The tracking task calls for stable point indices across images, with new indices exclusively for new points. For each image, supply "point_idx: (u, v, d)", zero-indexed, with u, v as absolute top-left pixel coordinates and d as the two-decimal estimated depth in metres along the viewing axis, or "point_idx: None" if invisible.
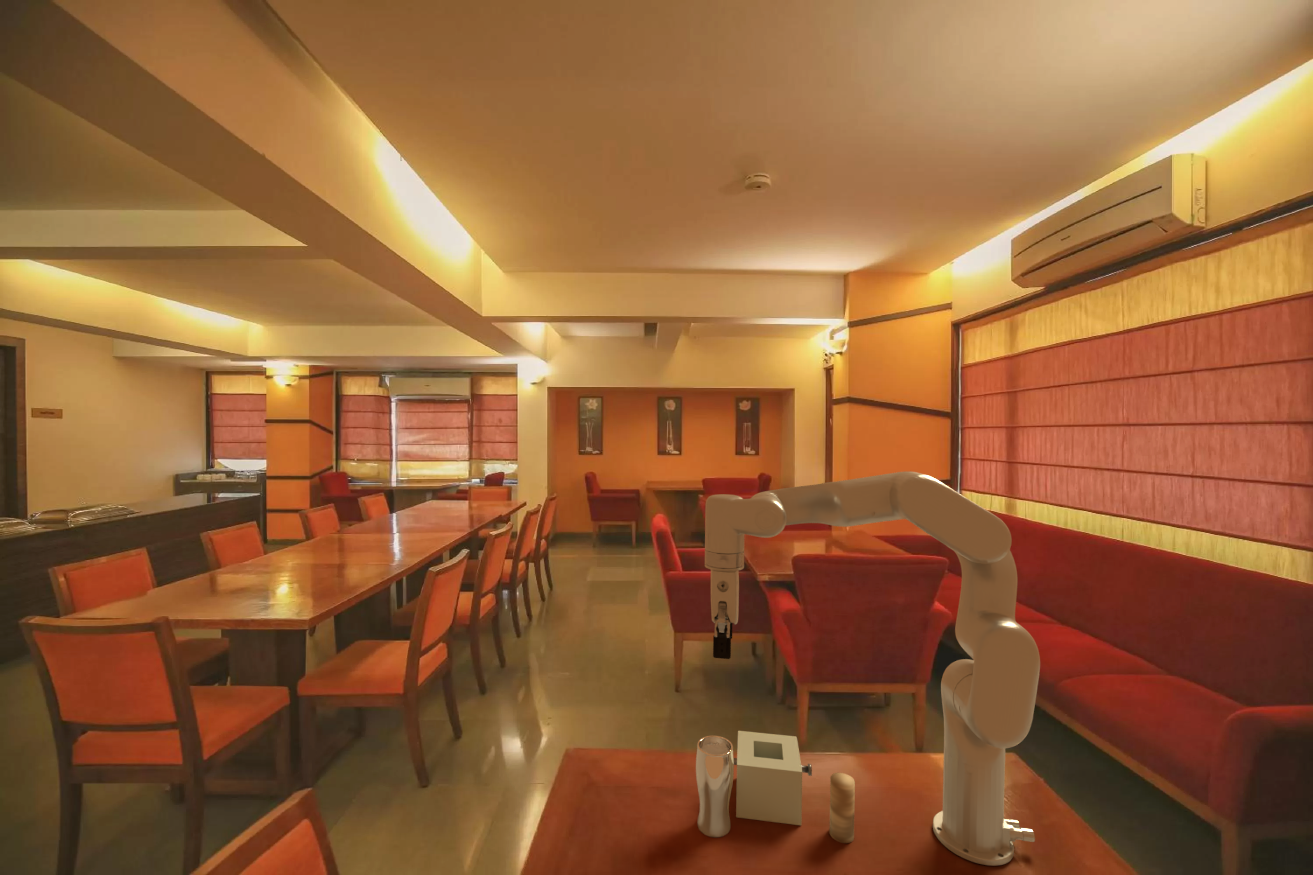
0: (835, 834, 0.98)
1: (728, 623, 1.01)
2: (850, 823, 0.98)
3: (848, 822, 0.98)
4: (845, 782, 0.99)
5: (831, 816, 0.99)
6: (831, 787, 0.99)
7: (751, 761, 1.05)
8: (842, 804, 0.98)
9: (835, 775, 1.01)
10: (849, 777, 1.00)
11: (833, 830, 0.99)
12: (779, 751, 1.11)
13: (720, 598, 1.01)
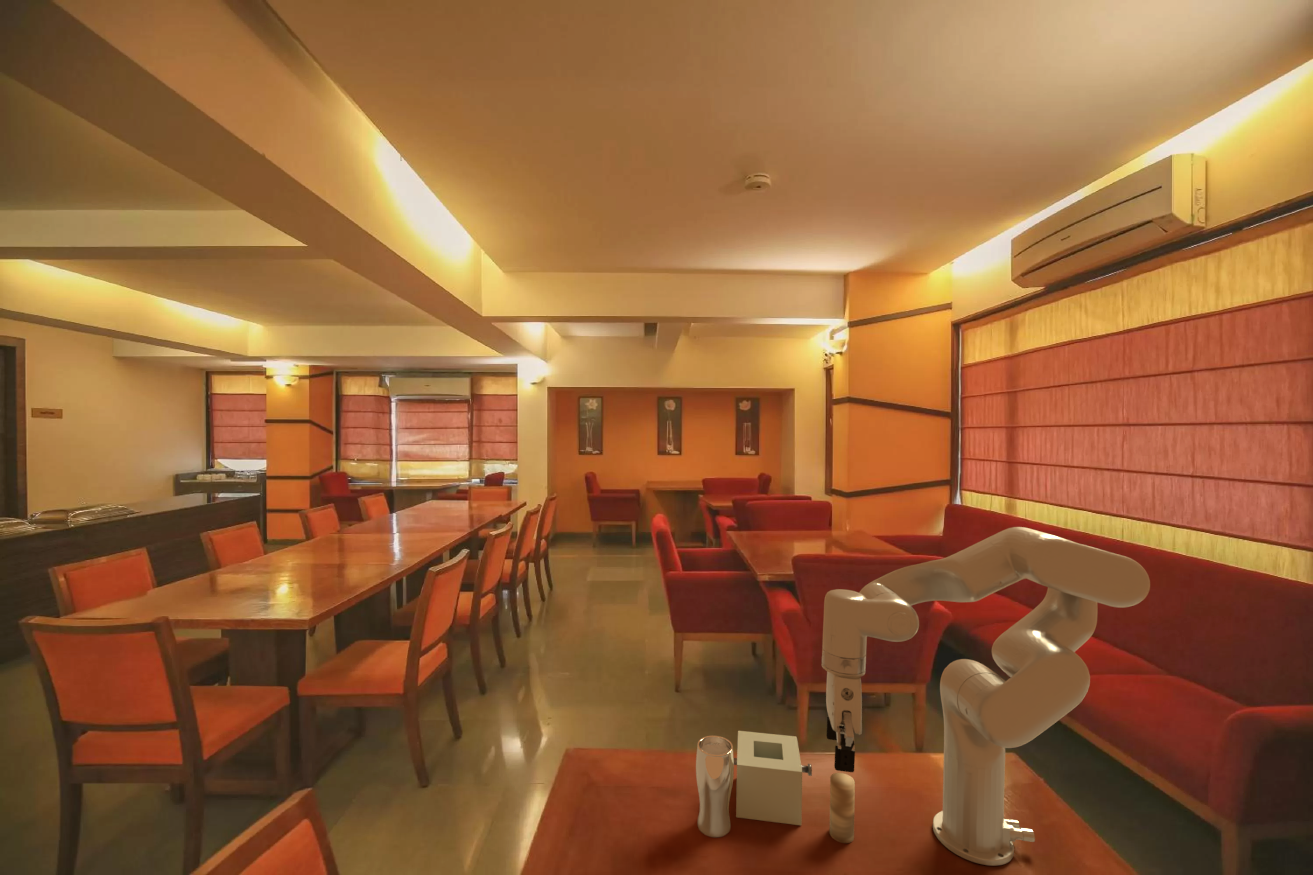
0: (835, 834, 0.98)
1: None
2: (850, 823, 0.98)
3: (848, 822, 0.98)
4: (845, 782, 0.99)
5: (831, 816, 0.99)
6: (831, 787, 0.99)
7: (751, 761, 1.05)
8: (842, 804, 0.98)
9: (835, 775, 1.01)
10: (849, 777, 1.00)
11: (833, 830, 0.99)
12: (779, 751, 1.11)
13: (844, 706, 0.95)
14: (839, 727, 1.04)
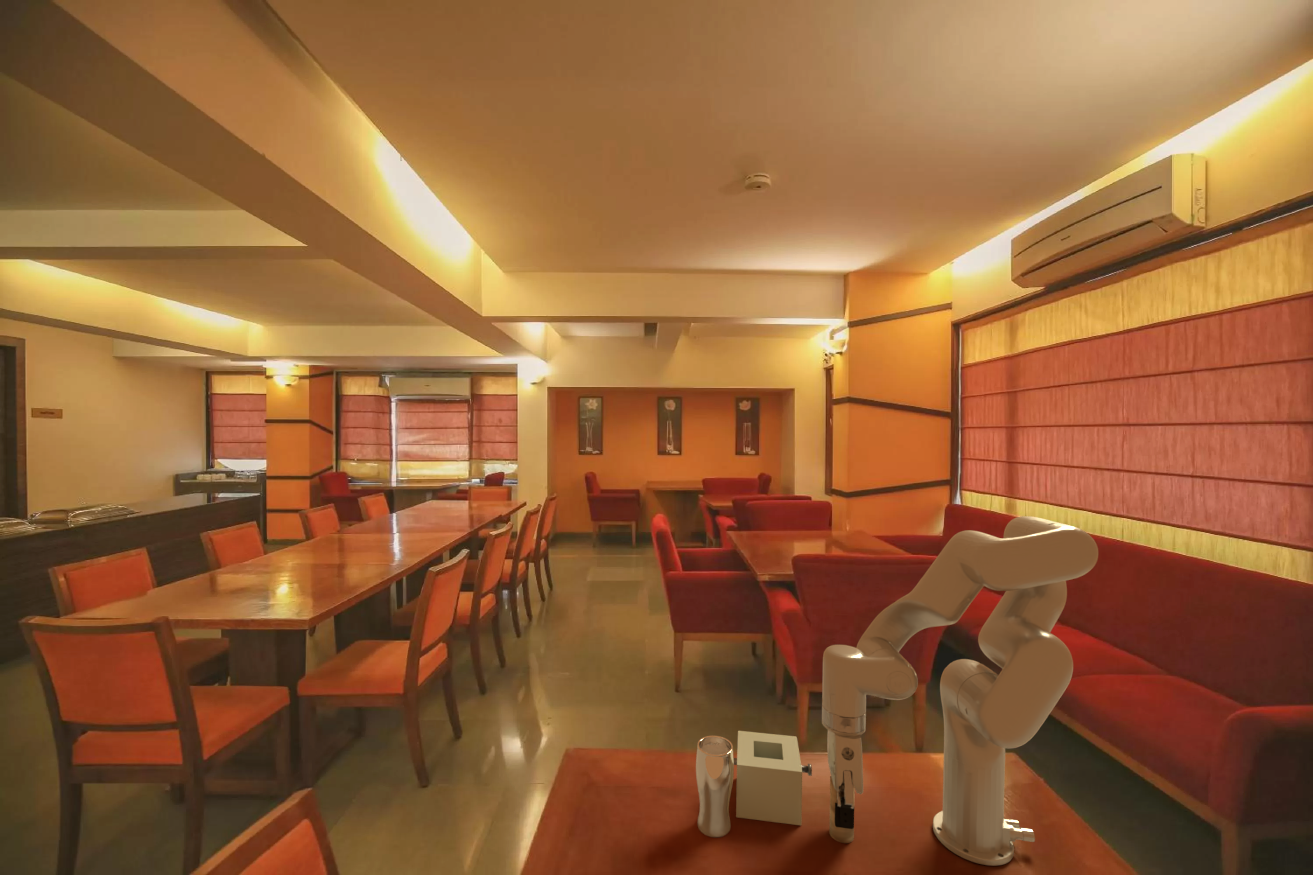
0: (835, 834, 0.98)
1: (852, 794, 0.96)
2: None
3: None
4: None
5: (831, 816, 0.99)
6: (831, 787, 0.99)
7: (751, 761, 1.05)
8: None
9: None
10: None
11: (833, 830, 0.99)
12: (779, 751, 1.11)
13: (845, 766, 0.95)
14: None
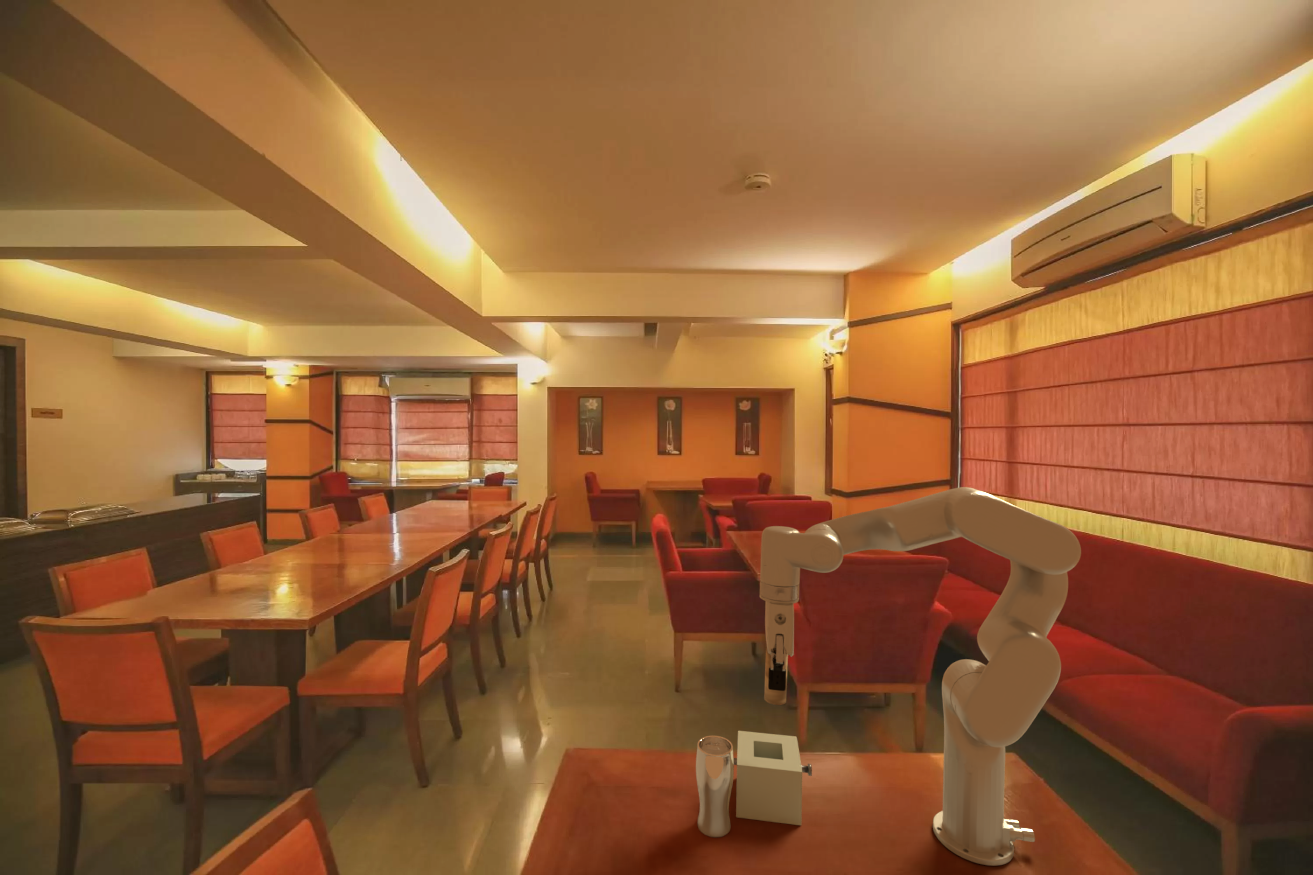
0: (768, 697, 1.06)
1: (784, 657, 1.04)
2: None
3: None
4: None
5: (765, 682, 1.07)
6: (766, 655, 1.07)
7: (751, 761, 1.05)
8: None
9: None
10: None
11: (767, 694, 1.06)
12: (779, 751, 1.11)
13: (777, 630, 1.02)
14: None
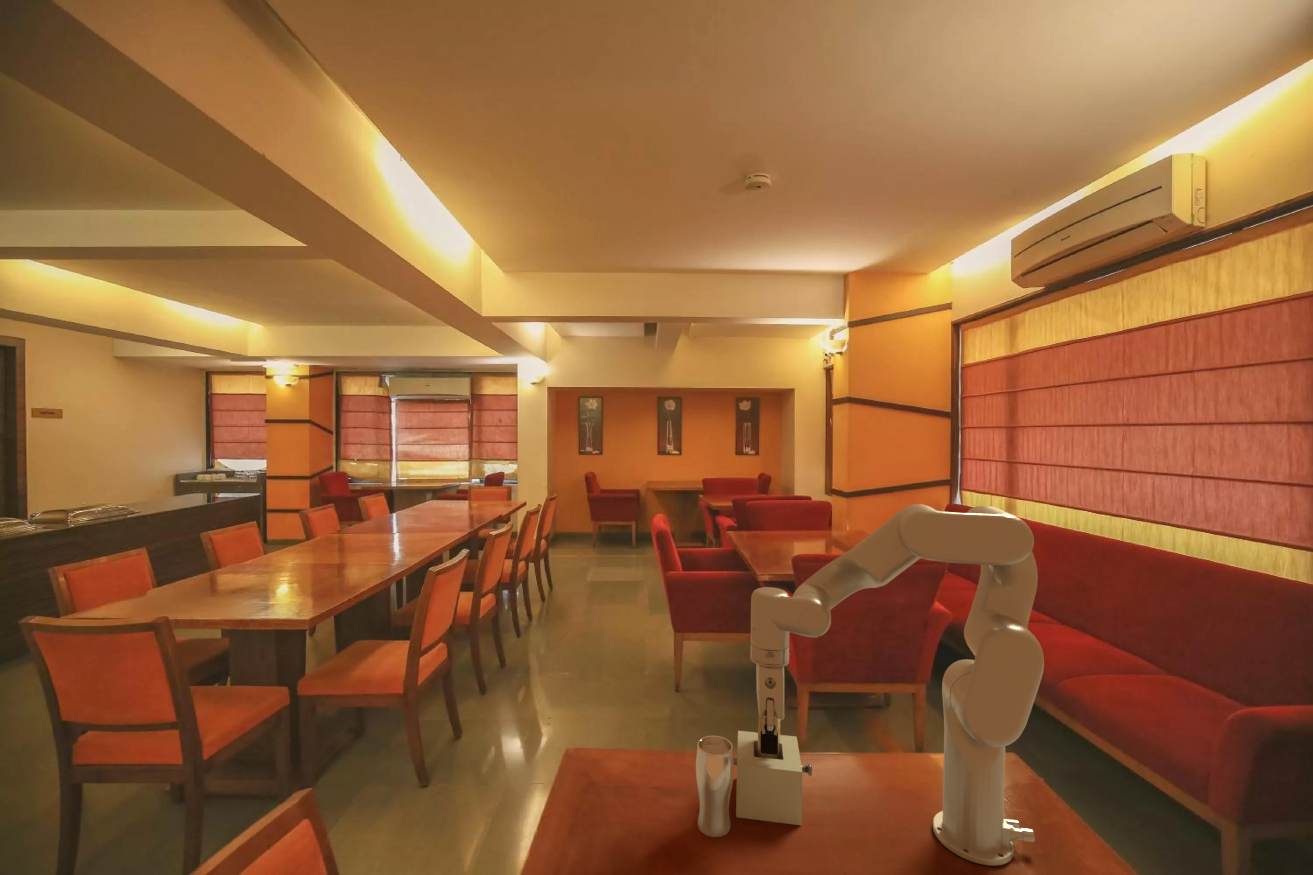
0: None
1: (775, 720, 1.04)
2: None
3: None
4: None
5: (758, 744, 1.08)
6: (759, 718, 1.08)
7: (751, 761, 1.05)
8: None
9: None
10: None
11: None
12: (779, 751, 1.11)
13: (767, 694, 1.04)
14: None
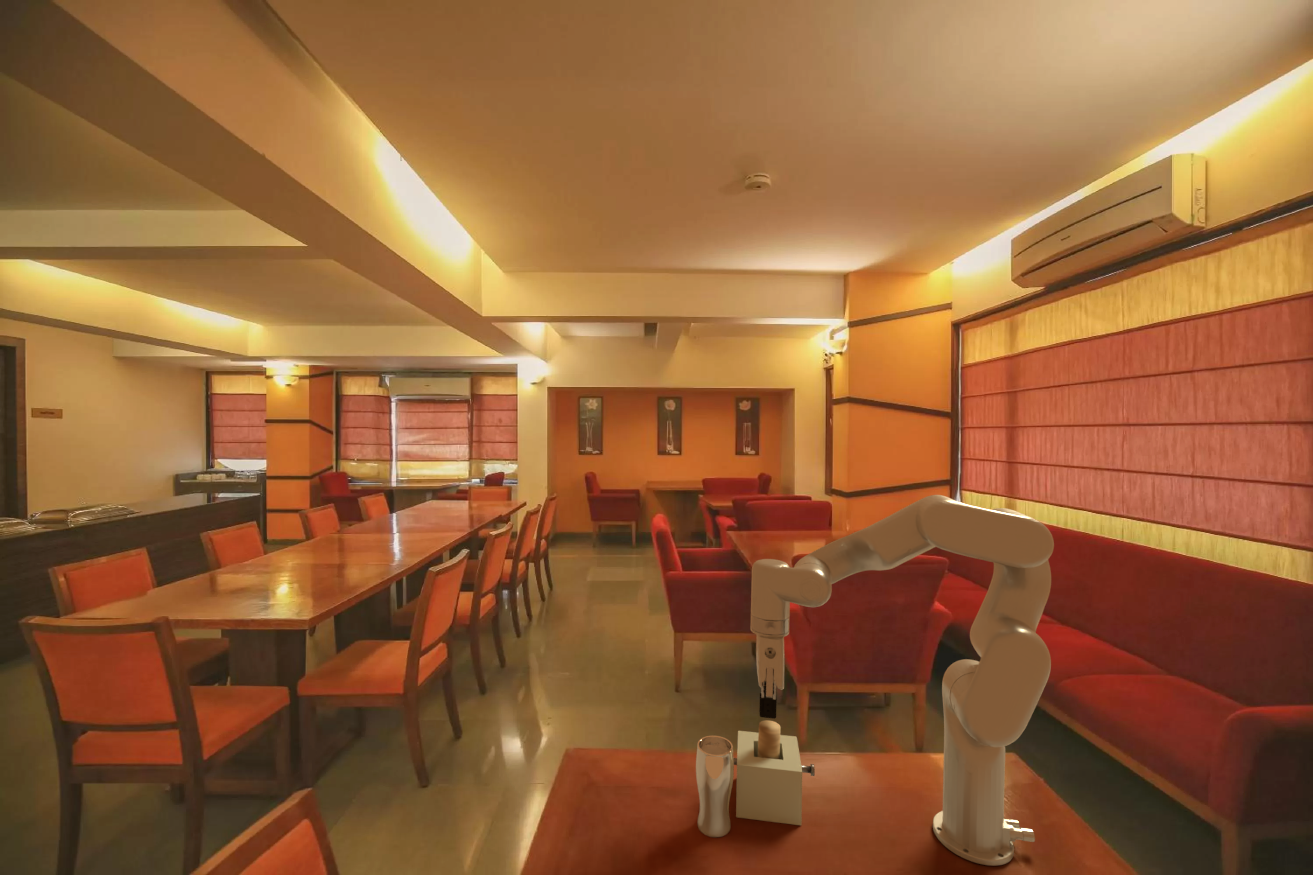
0: None
1: (774, 689, 1.06)
2: None
3: None
4: (772, 727, 1.08)
5: None
6: (759, 732, 1.08)
7: (751, 761, 1.05)
8: (767, 747, 1.07)
9: (764, 722, 1.10)
10: (776, 724, 1.09)
11: None
12: None
13: (767, 664, 1.04)
14: None
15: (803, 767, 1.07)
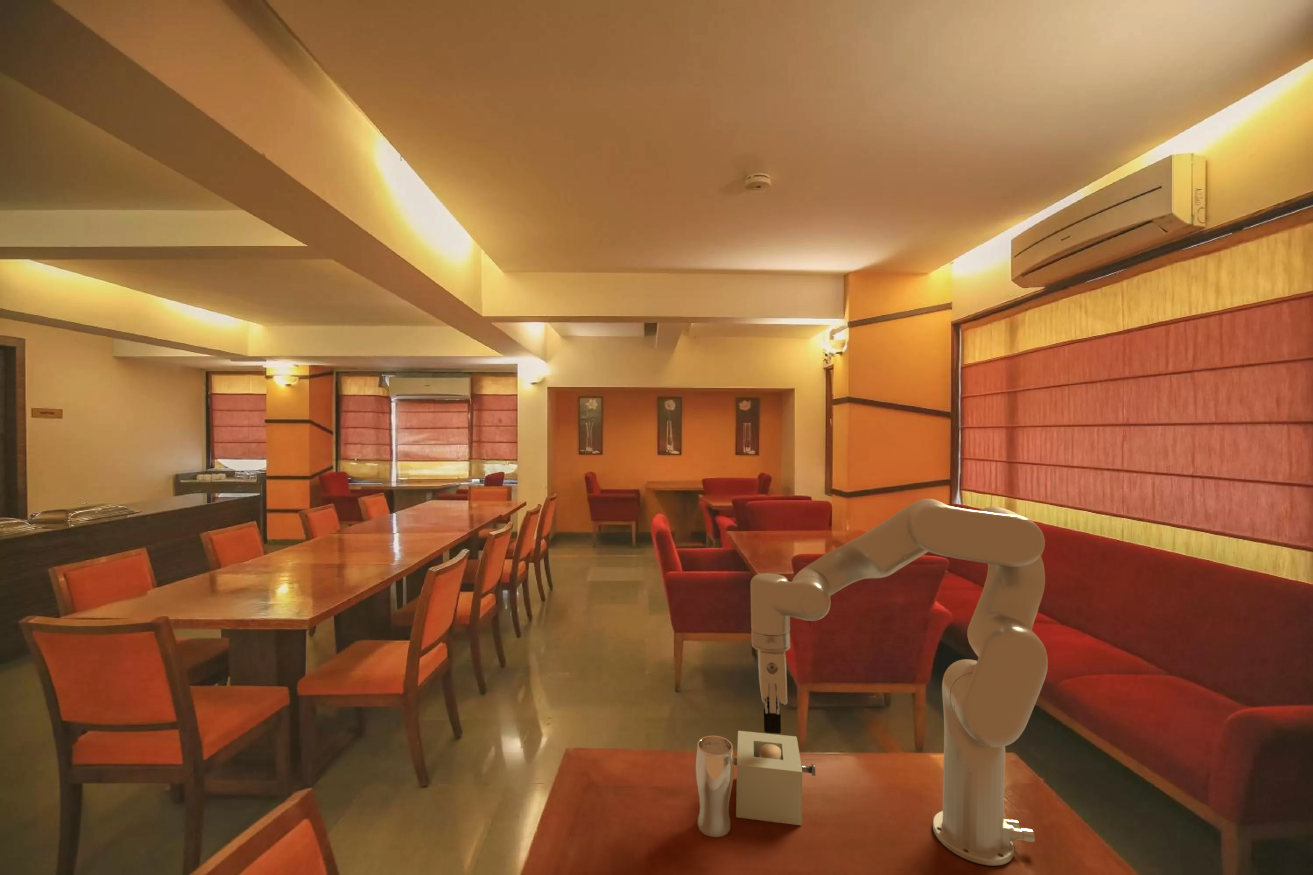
0: None
1: (778, 704, 1.06)
2: None
3: None
4: (772, 751, 1.08)
5: None
6: None
7: (751, 761, 1.05)
8: None
9: (764, 746, 1.10)
10: (777, 747, 1.09)
11: None
12: None
13: (770, 679, 1.04)
14: None
15: (804, 767, 1.07)
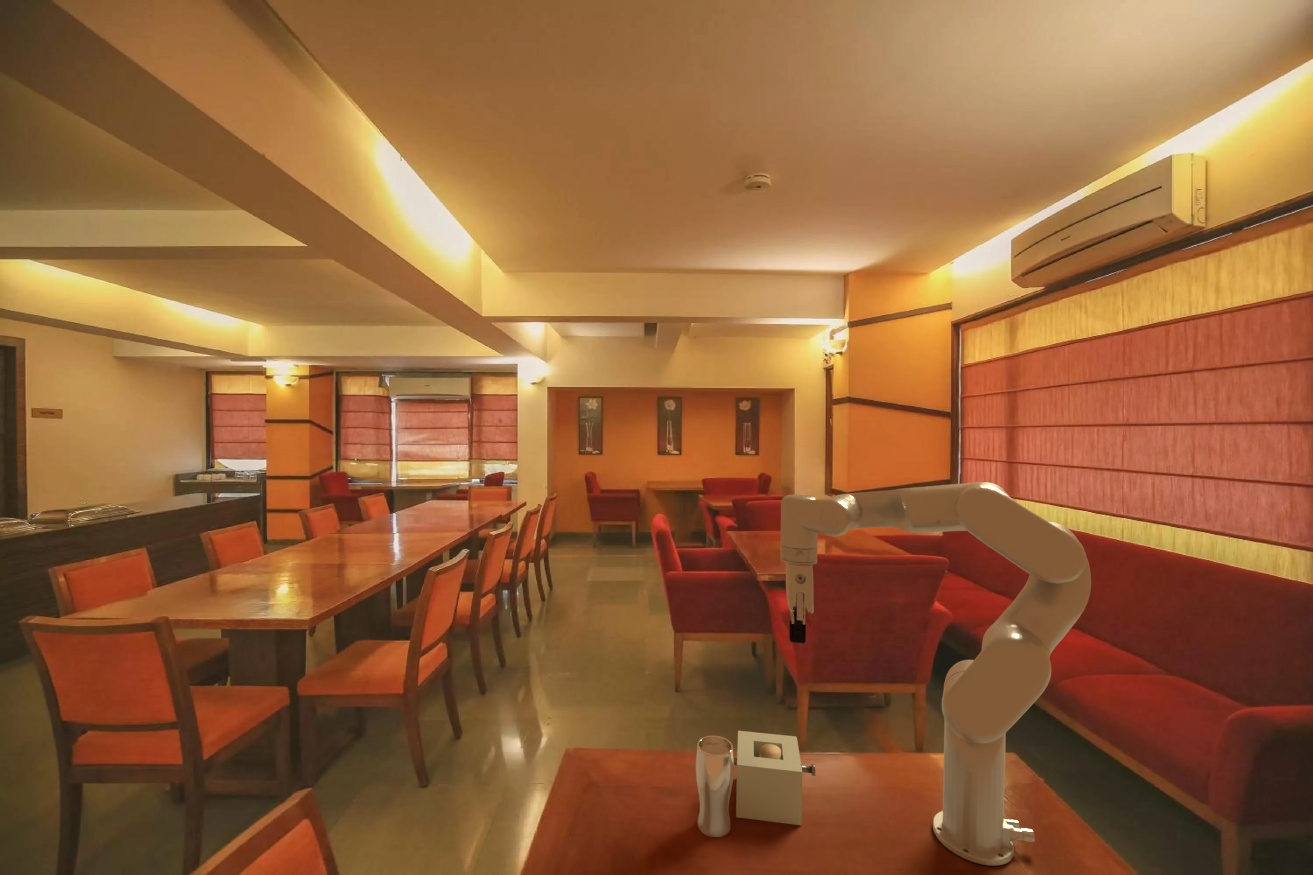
0: None
1: (804, 614, 1.13)
2: None
3: None
4: (772, 751, 1.08)
5: None
6: None
7: (751, 761, 1.05)
8: None
9: (764, 746, 1.10)
10: (777, 747, 1.09)
11: None
12: None
13: (798, 589, 1.10)
14: None
15: (804, 767, 1.07)
